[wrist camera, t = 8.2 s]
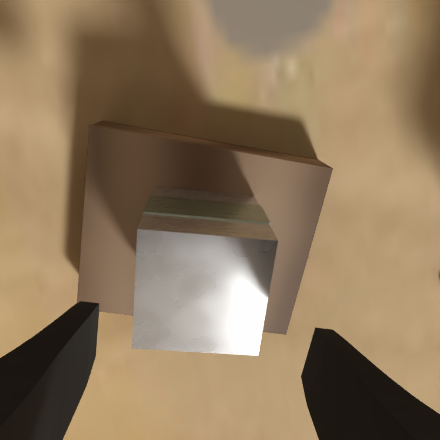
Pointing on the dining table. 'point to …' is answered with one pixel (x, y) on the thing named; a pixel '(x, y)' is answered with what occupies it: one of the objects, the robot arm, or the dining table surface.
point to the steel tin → (202, 272)
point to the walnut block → (194, 180)
